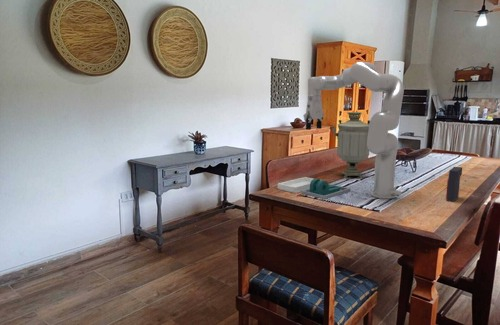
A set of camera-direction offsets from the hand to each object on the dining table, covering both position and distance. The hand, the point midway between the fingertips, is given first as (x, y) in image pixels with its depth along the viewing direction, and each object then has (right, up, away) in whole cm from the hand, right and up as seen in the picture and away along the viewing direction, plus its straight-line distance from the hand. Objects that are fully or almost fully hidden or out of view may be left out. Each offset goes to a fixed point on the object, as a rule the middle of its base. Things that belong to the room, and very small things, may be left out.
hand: (313, 129), depth 210 cm
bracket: (+3, -36, -20) cm, 41 cm away
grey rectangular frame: (+3, -35, -20) cm, 40 cm away
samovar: (+29, -28, +20) cm, 45 cm away
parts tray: (-9, -33, -8) cm, 35 cm away
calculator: (+61, -37, -35) cm, 80 cm away
